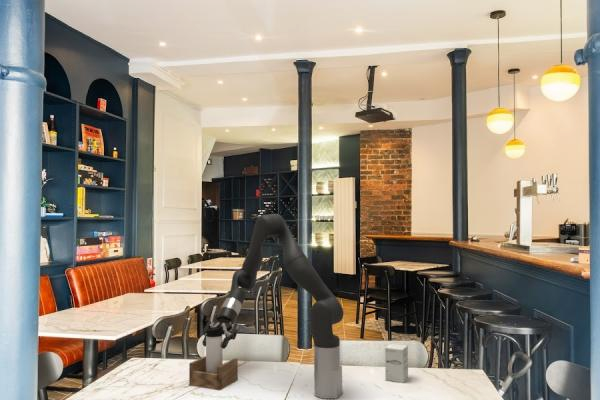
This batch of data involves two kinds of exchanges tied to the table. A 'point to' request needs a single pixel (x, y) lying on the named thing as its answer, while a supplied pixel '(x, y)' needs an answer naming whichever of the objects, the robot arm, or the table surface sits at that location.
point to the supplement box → (396, 363)
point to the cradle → (218, 381)
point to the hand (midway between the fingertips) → (213, 346)
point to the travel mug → (213, 349)
